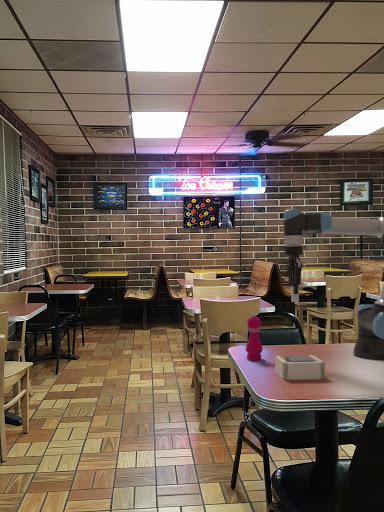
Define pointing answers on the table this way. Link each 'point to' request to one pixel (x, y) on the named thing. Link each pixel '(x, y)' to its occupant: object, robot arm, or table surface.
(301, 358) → the rounded grey cube
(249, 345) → the pepper mill
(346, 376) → the table surface
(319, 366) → the bay
